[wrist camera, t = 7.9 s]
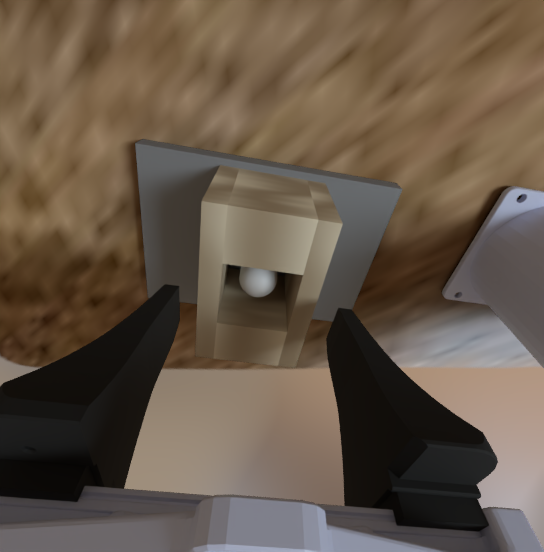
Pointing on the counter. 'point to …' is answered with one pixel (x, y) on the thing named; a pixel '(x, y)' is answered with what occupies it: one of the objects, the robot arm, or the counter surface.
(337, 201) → the pin board
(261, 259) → the hollow block
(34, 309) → the counter surface
